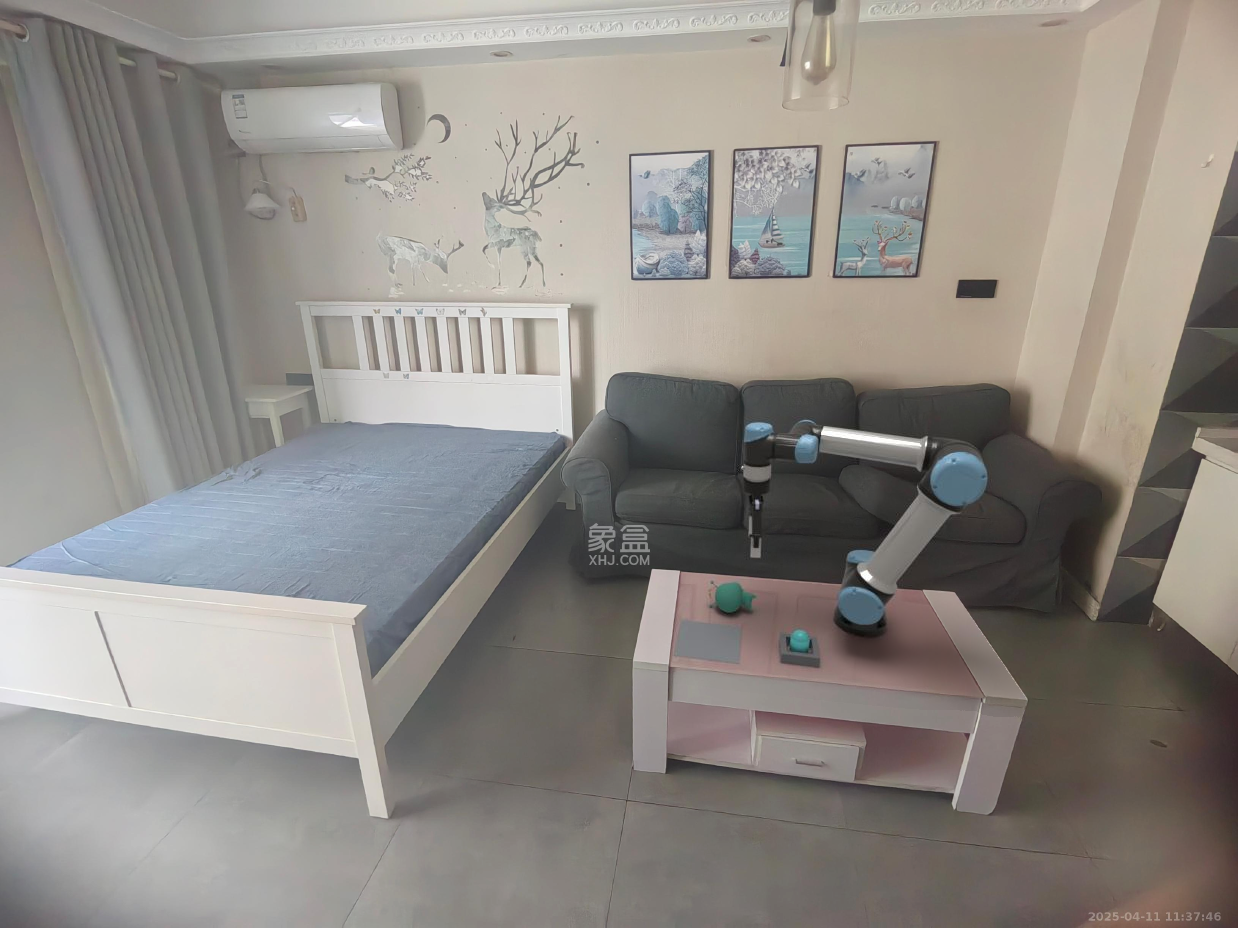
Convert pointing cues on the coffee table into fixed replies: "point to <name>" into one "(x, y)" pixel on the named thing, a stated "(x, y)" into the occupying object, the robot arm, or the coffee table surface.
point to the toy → (731, 597)
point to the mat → (708, 641)
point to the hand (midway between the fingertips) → (754, 546)
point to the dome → (799, 642)
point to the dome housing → (797, 657)
